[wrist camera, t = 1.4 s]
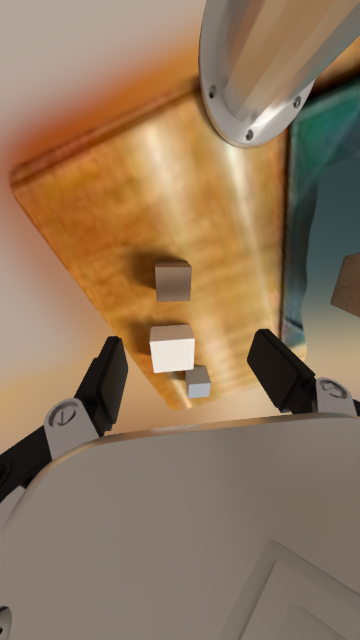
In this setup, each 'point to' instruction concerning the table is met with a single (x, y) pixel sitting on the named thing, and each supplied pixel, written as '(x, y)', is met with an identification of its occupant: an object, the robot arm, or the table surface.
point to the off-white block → (172, 348)
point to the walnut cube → (173, 280)
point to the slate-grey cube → (197, 382)
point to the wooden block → (348, 286)
